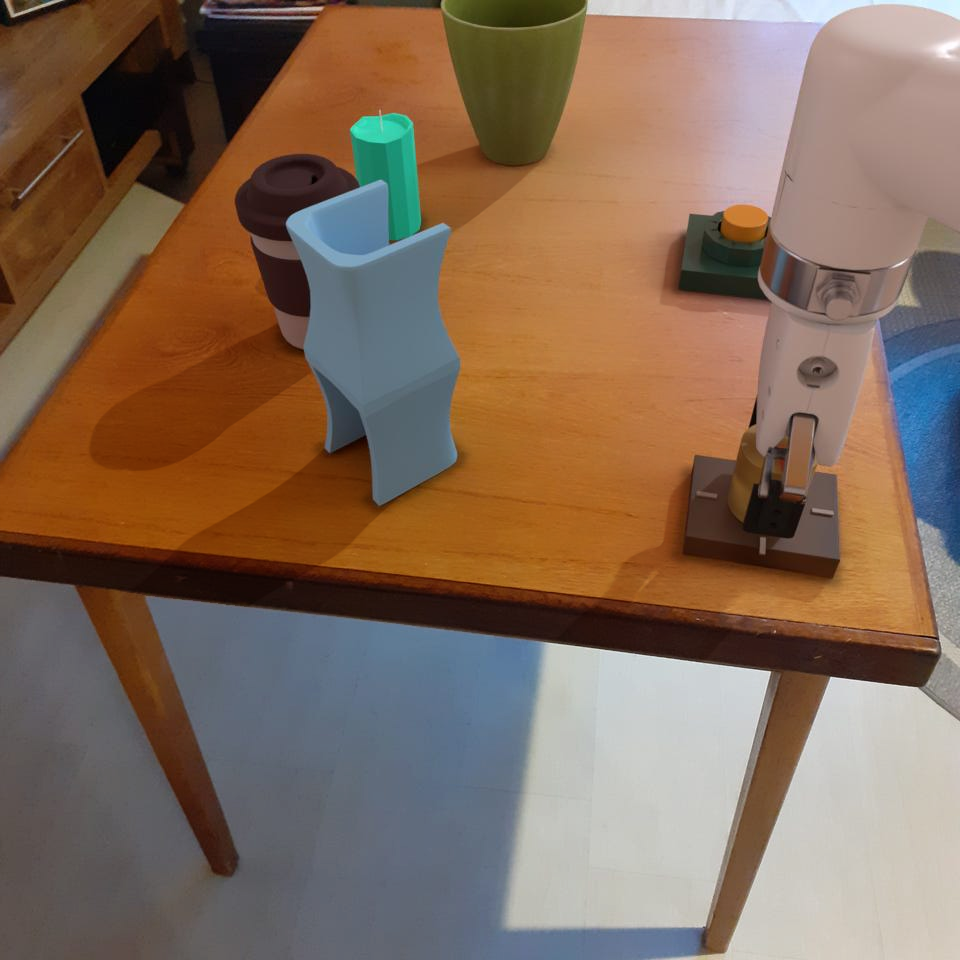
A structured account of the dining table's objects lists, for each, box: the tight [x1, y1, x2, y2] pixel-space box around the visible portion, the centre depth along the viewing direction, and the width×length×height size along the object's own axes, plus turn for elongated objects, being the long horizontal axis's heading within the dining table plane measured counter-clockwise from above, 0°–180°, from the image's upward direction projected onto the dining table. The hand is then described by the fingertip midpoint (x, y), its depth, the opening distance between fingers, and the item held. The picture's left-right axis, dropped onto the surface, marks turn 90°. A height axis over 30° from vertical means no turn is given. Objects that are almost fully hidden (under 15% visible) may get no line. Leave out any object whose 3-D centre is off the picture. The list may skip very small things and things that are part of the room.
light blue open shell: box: [286, 180, 461, 507], centre depth 64 cm, size 8×8×20 cm
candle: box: [349, 109, 422, 242], centre depth 90 cm, size 6×6×12 cm
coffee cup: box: [234, 153, 360, 351], centre depth 77 cm, size 10×10×15 cm
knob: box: [727, 424, 818, 523], centre depth 62 cm, size 5×5×6 cm
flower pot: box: [440, 0, 589, 166], centre depth 99 cm, size 15×15×16 cm
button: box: [720, 204, 769, 243], centre depth 84 cm, size 4×4×2 cm
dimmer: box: [682, 454, 841, 579], centre depth 64 cm, size 10×9×2 cm
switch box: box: [677, 210, 771, 301], centre depth 86 cm, size 10×10×4 cm
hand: (769, 482), depth 62 cm, fingers open, 8 cm apart
